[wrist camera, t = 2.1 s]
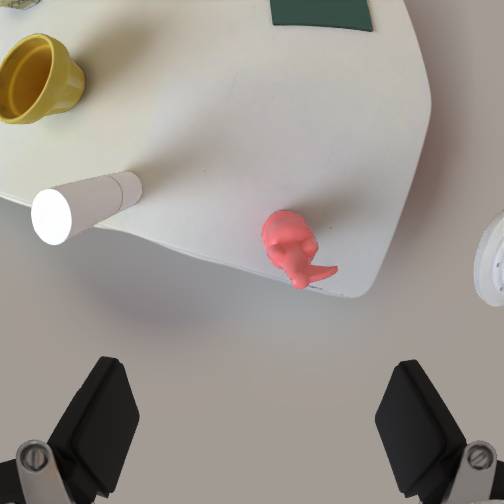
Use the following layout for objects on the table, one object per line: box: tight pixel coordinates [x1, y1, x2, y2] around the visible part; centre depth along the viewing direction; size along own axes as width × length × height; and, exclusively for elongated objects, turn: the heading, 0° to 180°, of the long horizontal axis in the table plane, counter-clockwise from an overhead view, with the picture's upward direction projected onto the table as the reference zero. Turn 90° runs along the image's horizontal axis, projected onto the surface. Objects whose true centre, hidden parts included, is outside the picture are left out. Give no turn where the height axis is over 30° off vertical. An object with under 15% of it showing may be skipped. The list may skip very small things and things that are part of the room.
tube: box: [31, 171, 142, 245], centre depth 25 cm, size 4×4×15 cm
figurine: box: [262, 210, 338, 289], centre depth 26 cm, size 5×5×15 cm
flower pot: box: [0, 34, 85, 124], centre depth 23 cm, size 10×10×10 cm
